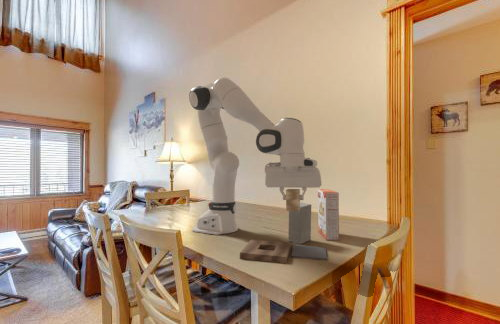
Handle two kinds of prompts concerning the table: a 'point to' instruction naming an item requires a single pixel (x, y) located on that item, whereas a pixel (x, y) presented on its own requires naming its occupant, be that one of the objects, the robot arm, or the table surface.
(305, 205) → the skincare box
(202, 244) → the table surface
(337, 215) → the cracker box
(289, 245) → the pocket plate
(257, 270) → the table surface
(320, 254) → the rubber mat
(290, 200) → the maple block
